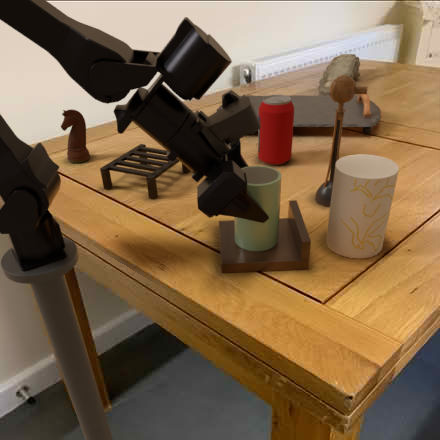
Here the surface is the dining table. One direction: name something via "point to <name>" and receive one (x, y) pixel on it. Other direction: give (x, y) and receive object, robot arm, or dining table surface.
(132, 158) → the rack
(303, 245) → the shelf
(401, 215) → the dining table surface
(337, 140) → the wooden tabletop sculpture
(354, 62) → the elongated rock
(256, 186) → the green cup
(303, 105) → the serving tray
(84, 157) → the chess piece
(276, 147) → the beverage can
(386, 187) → the white patterned canister
